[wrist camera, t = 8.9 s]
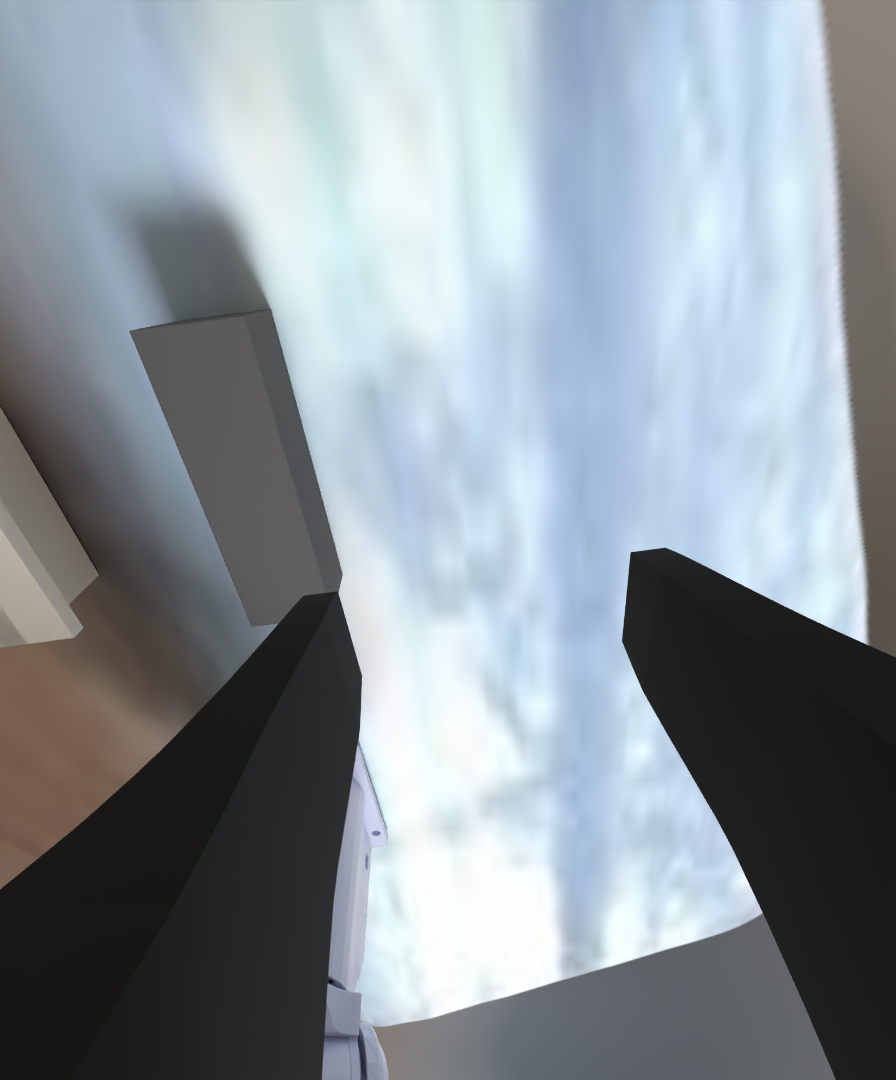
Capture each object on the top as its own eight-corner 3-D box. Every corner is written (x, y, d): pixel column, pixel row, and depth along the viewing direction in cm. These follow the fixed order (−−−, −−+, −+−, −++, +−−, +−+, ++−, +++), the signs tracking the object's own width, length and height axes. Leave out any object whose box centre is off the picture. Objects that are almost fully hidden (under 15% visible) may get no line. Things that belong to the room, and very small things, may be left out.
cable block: (343, 571, 20) (333, 615, 17) (272, 580, 20) (251, 626, 17) (273, 308, 15) (244, 316, 12) (179, 321, 15) (129, 330, 12)
